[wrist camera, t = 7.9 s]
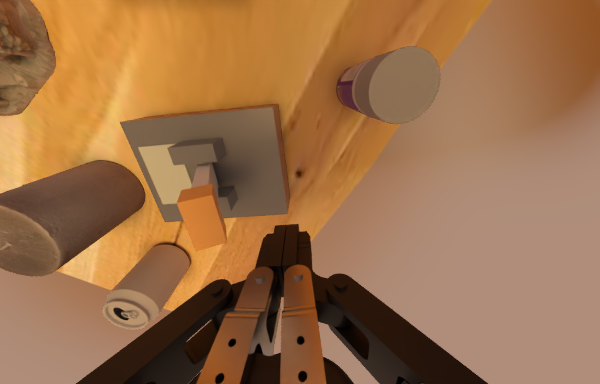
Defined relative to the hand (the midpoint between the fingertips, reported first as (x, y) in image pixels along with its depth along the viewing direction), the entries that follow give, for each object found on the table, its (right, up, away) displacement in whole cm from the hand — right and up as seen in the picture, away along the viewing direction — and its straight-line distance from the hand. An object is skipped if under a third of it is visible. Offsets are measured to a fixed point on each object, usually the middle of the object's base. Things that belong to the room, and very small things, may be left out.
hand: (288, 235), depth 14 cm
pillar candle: (-29, +4, +20) cm, 36 cm away
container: (+8, +16, +13) cm, 22 cm away
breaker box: (-10, +8, +18) cm, 22 cm away
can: (-24, -9, +27) cm, 37 cm away
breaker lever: (-11, +5, +12) cm, 17 cm away
